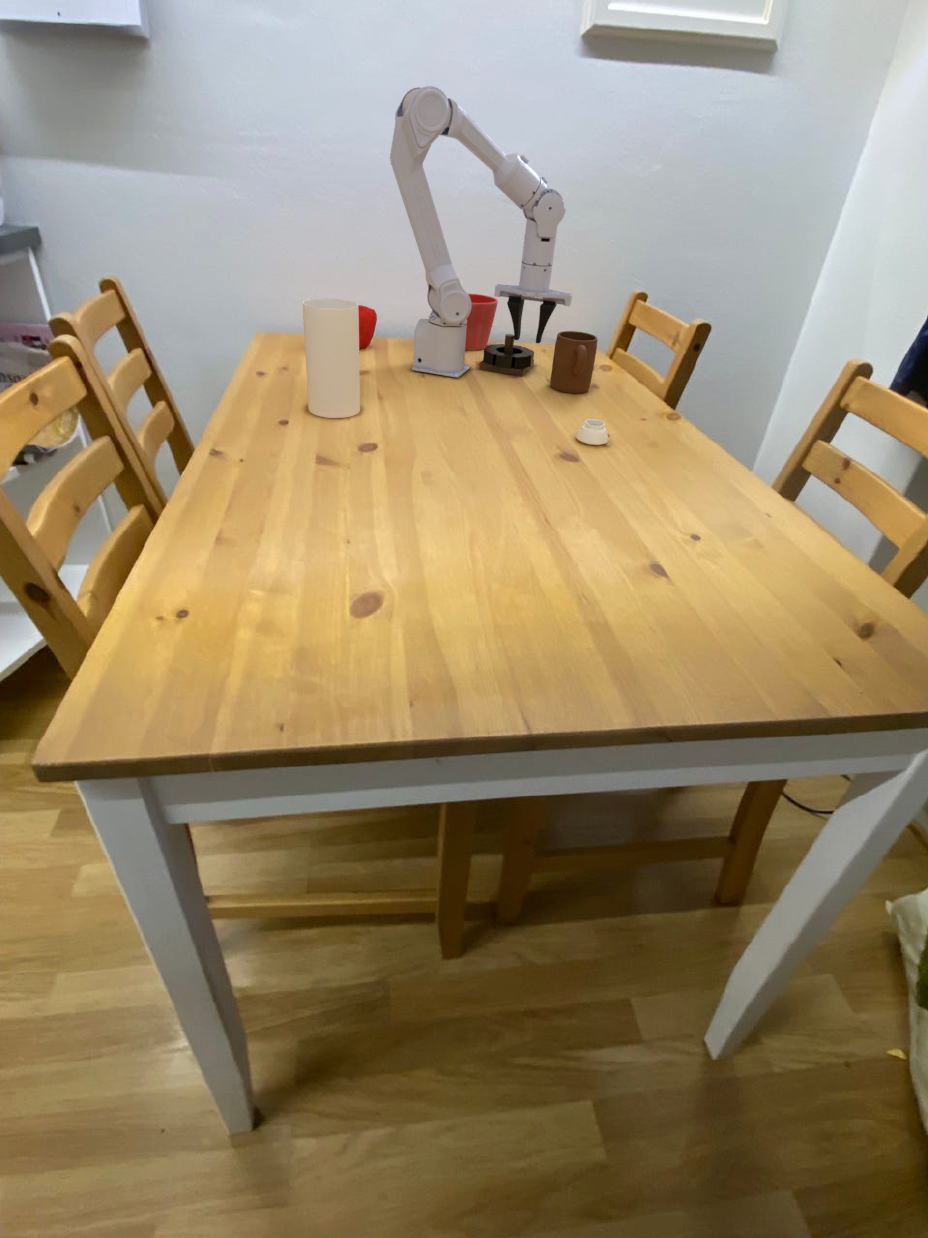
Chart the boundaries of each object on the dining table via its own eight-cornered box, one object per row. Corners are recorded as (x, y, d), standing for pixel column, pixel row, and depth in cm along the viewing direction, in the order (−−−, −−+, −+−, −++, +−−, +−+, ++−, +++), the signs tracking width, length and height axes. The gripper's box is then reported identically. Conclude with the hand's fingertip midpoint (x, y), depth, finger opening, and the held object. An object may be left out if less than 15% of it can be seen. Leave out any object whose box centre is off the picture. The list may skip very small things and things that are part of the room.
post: (478, 369, 138) (481, 336, 134) (491, 358, 145) (494, 327, 141) (522, 376, 136) (526, 343, 132) (533, 365, 143) (537, 333, 139)
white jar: (583, 447, 107) (613, 446, 108) (587, 428, 105) (616, 427, 106) (570, 435, 111) (599, 434, 112) (573, 417, 109) (602, 416, 110)
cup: (368, 406, 115) (367, 302, 106) (345, 421, 109) (342, 311, 99) (324, 398, 117) (319, 294, 108) (298, 412, 110) (291, 303, 101)
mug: (596, 403, 125) (606, 348, 120) (554, 400, 125) (562, 345, 120) (586, 383, 135) (594, 332, 130) (547, 380, 135) (554, 329, 129)
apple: (326, 348, 142) (324, 307, 138) (344, 339, 149) (343, 299, 145) (366, 354, 141) (366, 313, 136) (383, 345, 148) (383, 305, 143)
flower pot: (447, 337, 157) (450, 290, 152) (495, 342, 156) (500, 295, 151) (440, 348, 149) (442, 299, 143) (490, 354, 148) (495, 305, 142)
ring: (479, 364, 136) (480, 352, 135) (490, 352, 144) (491, 341, 143) (527, 371, 135) (528, 359, 134) (535, 359, 143) (537, 348, 141)
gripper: (494, 261, 127) (487, 339, 134) (572, 271, 124) (561, 350, 132) (502, 256, 132) (495, 332, 140) (578, 266, 130) (566, 342, 138)
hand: (527, 340), depth 136 cm, fingers open, 4 cm apart
